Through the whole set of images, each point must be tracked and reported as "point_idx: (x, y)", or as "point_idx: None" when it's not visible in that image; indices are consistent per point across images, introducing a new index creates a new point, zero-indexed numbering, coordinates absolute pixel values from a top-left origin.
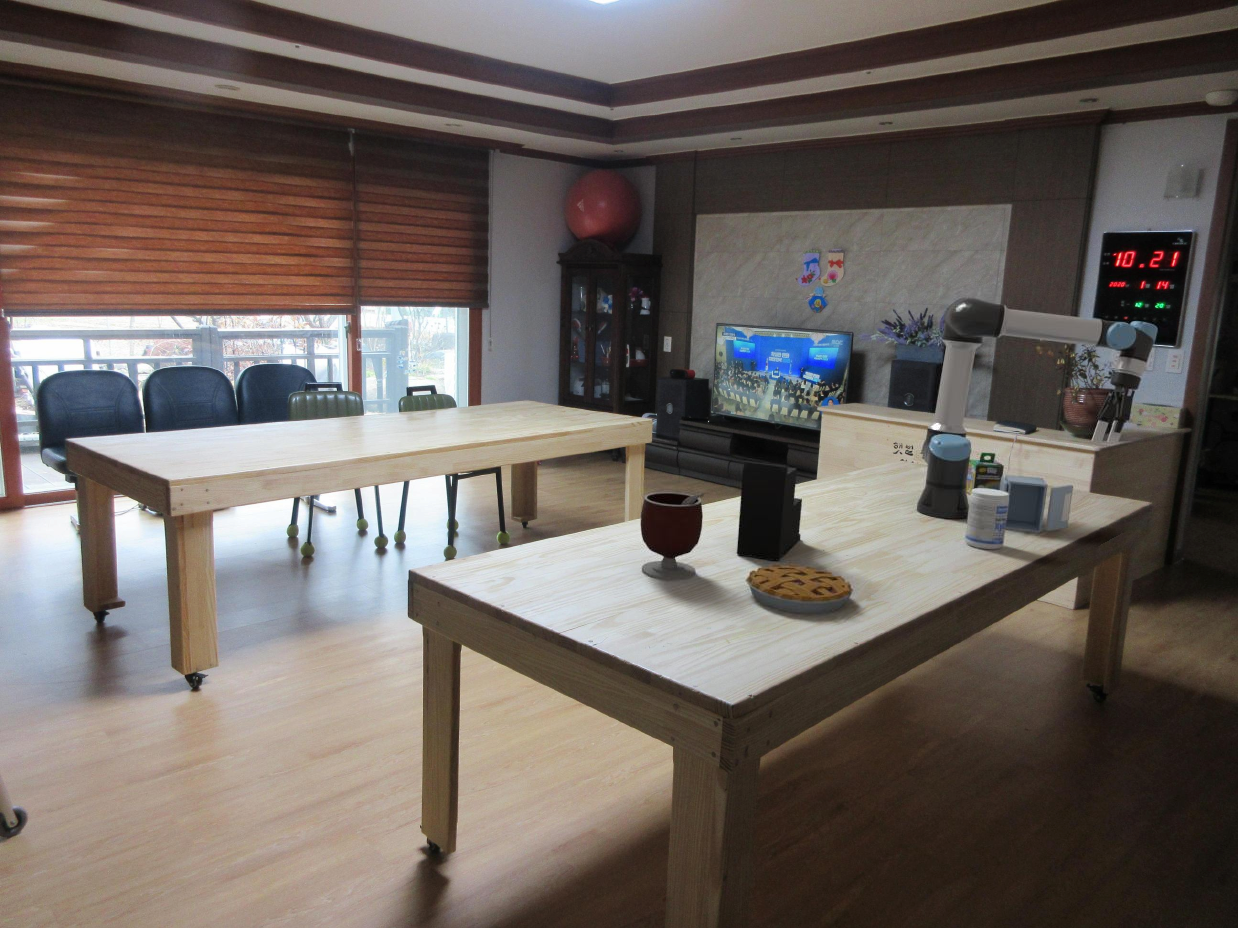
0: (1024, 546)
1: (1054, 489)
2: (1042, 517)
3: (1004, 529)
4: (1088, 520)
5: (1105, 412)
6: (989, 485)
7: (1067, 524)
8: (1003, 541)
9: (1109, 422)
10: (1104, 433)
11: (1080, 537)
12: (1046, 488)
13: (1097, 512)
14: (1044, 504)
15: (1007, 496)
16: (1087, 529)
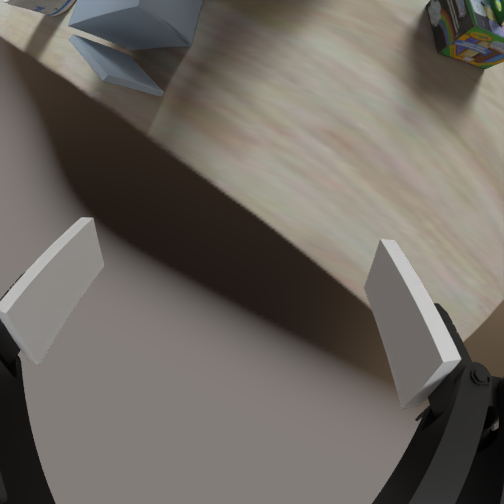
0: (64, 35)
1: (71, 41)
2: (113, 42)
3: (37, 11)
4: (273, 176)
5: (420, 468)
6: (444, 19)
7: (156, 95)
8: (50, 15)
9: (417, 419)
10: (381, 335)
11: (118, 113)
12: (74, 26)
13: (367, 238)
14: (97, 35)
15: (5, 2)
16: (181, 142)
